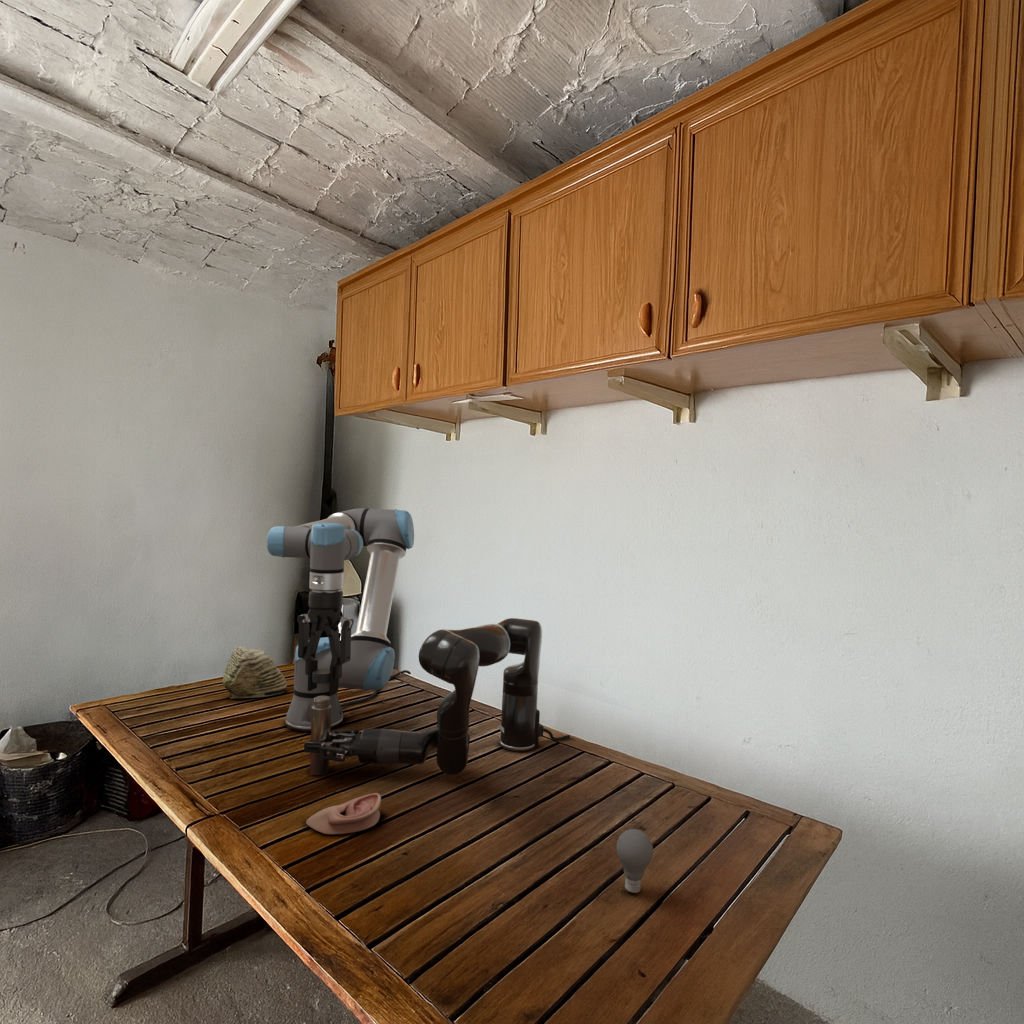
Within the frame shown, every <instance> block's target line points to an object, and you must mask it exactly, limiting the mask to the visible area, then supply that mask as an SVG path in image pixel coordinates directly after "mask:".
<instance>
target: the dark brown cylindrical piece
mask: <svg viewBox="0 0 1024 1024" xmlns="http://www.w3.org/2000/svg"><path fill="white" fill-rule="evenodd" d="M331 730H332V729H331V705H330V697H329V696H317V697H315V698H314V705H313V706H312V721H311V732H310V742H321V743H323V742H330V733H331ZM329 771H330V760H328V759H323V758H321V755H320V753H309V774H310V775H312V776H323V775H326V774H328V773H329Z"/></svg>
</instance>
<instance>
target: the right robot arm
mask: <svg viewBox="0 0 1024 1024" xmlns="http://www.w3.org/2000/svg"><path fill="white" fill-rule="evenodd" d="M542 642H543V628H542V624H541V623H540V622H539V621H538V620H533V619H525V618H515V617H509V618H506V619H505V618H504V619H503V620H501V621H500V622H497V623H488V624H483V625H478V626H474V627H467V628H463V629H446V628H445V629H444V628H441V629H438V630H436V631H434V632H432V633H430V634H429V635H428V636H427V637H426V638H425V639H424V641H423V642H422V644H421V645H420V648H419V651H418V663H419V665H420V667H421V668H422V669H423V670H424V671H425V672H426V673H428V674H430V675H431V676H433V677H435V678H437V679H439V680H442V681H443V682H445V683H447V684H449V685H453V687H454V690H452V691H451V692H450V693H448V694H447V695H446V696H444V697H443V699H441V701H440V702H439V705H438V707H437V711H436V727H437V728H434V729H428V730H424V731H404V730H398V729H388V728H387V729H386V728H367V727H365V728H363V729H362V731H361V732H360V729H359V728H353V729H351V728H350V729H335V730H333V732H330V742H323V743H321V742H311V741H305V742H304V744H303V752H304V753H309V754H310V753H320V755H321V758H323V759H328V760H329V761H334V762H339V763H343V762H345V761H346V758H347V757H349V758H351V757H354V756H356V757H357V758H358V761H359V763H361V764H371V765H372V764H374V765H423V764H424V763H425V762H426V761H427V758H428V756H429V754H430V753H431V751H433V750H436V758H435V759H436V766H437V767H438V769H439V770H440V772H442V773H444V774H446V775H448V776H456V775H459V774H461V773H462V772H464V770H465V769H466V768H467V765H468V762H469V761H468V760H469V753H470V751H469V750H470V741H471V735H470V733H469V730H470V707H471V702H472V697H473V694H474V689H475V685H476V680H477V676H478V672H479V667H489V666H493V665H495V664H498V663H500V662H501V661H503V660H505V659H506V658H507V656H508V655H509V654H511V655H519V656H520V655H521V656H524V659H523V661H522V662H520V663H516V664H512V665H508V666H507V667H505V668H504V669H503V672H502V673H503V674H502V675H503V676H502V677H503V678H502V696H501V697H502V698H501V719H500V720H501V721H500V723H499V724H498V729H499V730H500V737H499V738H500V739H499V745H500V747H501V748H503V749H504V750H507V751H512V752H520V753H521V752H528V751H531V750H534V749H535V748H539V740H540V739H539V738H542V737H544V733H546V734H548V736H549V738H550V739H551V740H552V741H555V742H559V741H564V740H567V739H570V738H571V735H570V734H567V735H564V736H560V737H556V736H554V735H553V733H552V731H550V730H549V729H547V728H545V727H544V726H543V724H541V723H540V715H541V712H540V710H539V709H538V695H539V693H538V692H539V690H538V689H539V673H540V667H541V666H540V663H541V651H542Z"/></svg>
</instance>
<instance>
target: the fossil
mask: <svg viewBox="0 0 1024 1024" xmlns="http://www.w3.org/2000/svg"><path fill="white" fill-rule="evenodd" d="M222 676H223V677H222V685H223V687H224V688H225V690H226V691H228V693H229V698H230V699H250V698H264V697H271V696H275V695H281V694H284V693H285V691H286V689H287V687H288V686H287V680H286V678H285V676H284V674H283V673H282V672H281V669H279V668H278V667H277V665H276V663H275V662H274V660H273V659H272V658H271V657H270V656H269V655H268V654H267V653H266V652H265V650H264V649H263V648H260V647H258V648H251V647H247V646H246V647H245V646H238V647H237V648H236V649H235V650H233V651H232V653H231V656H230V657H229V659H228V660H227V663H226V666H225V668H224V671H223V675H222Z"/></svg>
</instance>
